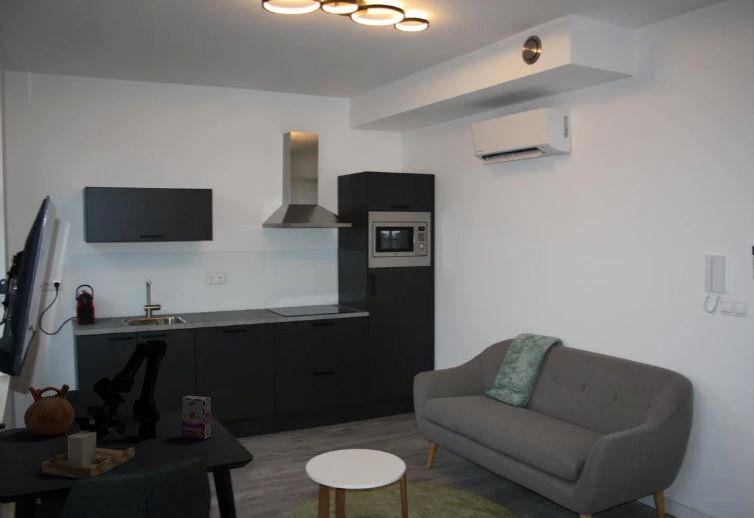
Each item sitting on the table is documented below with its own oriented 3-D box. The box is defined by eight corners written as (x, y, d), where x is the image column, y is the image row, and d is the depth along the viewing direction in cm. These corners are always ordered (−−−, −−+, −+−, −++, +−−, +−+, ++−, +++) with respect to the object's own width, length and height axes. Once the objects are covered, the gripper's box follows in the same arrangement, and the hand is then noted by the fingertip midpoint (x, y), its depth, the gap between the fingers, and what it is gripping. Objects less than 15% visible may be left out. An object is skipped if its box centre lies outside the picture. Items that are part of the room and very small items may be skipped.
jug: (22, 442, 257) (21, 392, 257) (26, 430, 274) (25, 382, 273) (73, 437, 265) (73, 388, 264) (74, 425, 281) (74, 378, 280)
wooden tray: (88, 451, 247) (88, 442, 247) (134, 456, 242) (134, 447, 242) (41, 473, 224) (41, 463, 224) (91, 479, 219) (91, 469, 219)
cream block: (81, 458, 234) (81, 430, 233) (96, 460, 232) (96, 432, 232) (67, 465, 227) (67, 436, 226) (82, 467, 225) (82, 438, 225)
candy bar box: (211, 437, 266) (211, 397, 265) (204, 440, 261) (204, 400, 261) (189, 434, 270) (189, 394, 270) (181, 437, 266) (181, 397, 265)
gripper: (77, 393, 240) (55, 432, 230) (121, 397, 235) (101, 437, 225) (92, 409, 248) (71, 447, 238) (135, 413, 243) (116, 452, 233)
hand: (89, 446), depth 233 cm, fingers closed
